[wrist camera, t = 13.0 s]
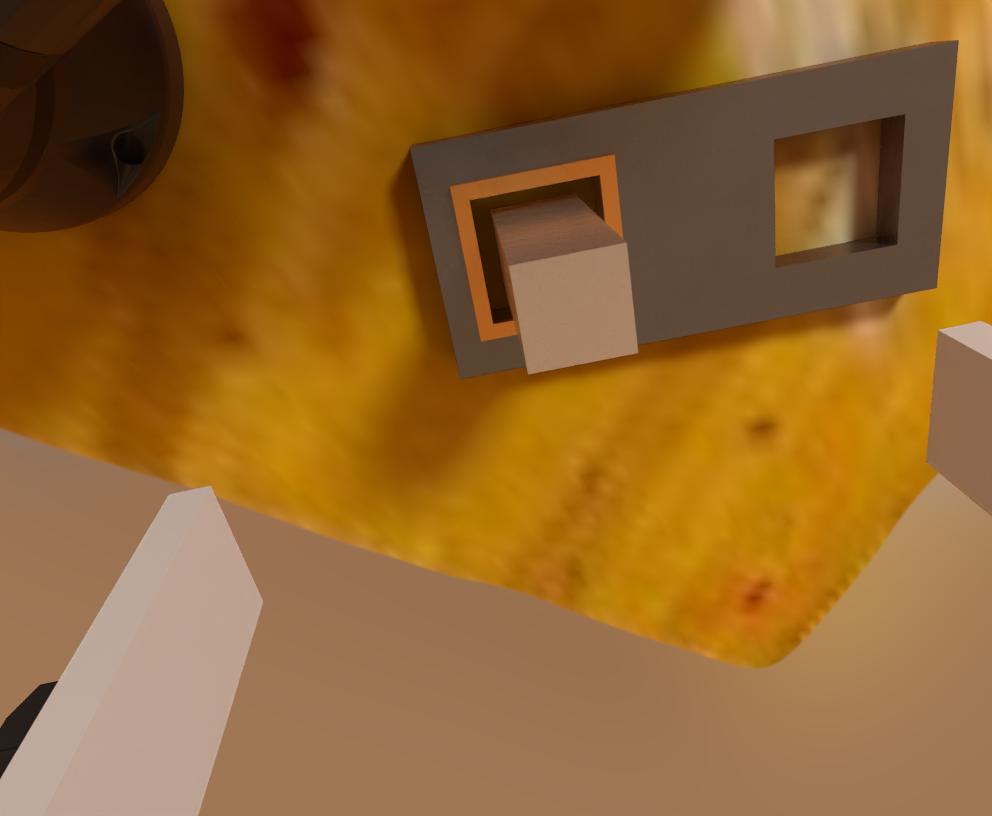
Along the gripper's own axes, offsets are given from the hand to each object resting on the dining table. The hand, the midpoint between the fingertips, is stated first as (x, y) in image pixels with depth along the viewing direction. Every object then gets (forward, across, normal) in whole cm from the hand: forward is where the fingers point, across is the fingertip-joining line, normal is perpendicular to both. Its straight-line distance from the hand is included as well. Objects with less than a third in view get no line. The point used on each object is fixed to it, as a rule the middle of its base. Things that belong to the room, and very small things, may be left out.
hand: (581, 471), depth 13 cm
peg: (+27, +2, -3) cm, 27 cm away
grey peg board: (+27, +10, -3) cm, 29 cm away
